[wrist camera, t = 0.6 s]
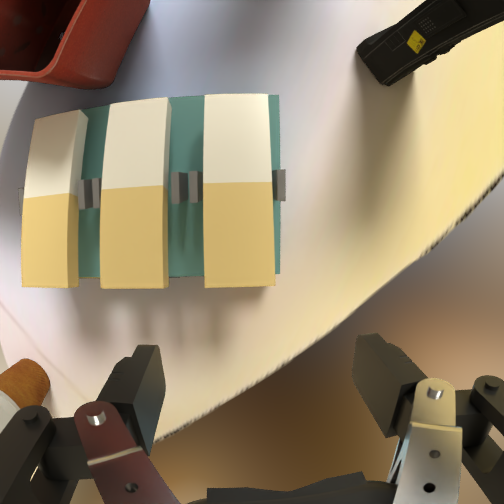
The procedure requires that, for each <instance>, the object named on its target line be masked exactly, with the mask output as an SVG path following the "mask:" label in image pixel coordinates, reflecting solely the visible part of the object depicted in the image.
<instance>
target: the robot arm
mask: <svg viewBox="0 0 504 504" xmlns="http://www.w3.org/2000/svg"><path fill="white" fill-rule="evenodd" d="M352 377H353V382H354V384H355V386H356V388H357V389H358V391H359V393H360V395H361V396H362V398H363V400H364V401H365V403H366V405H367V406H368V408H369V410H370V412H371V413H372V415H373V417H374V419H375V420H376V422H377V424H378V425H379V427H380V429H381V431H382V432H383V434H384V436H385V438H388V437H392V436H396V435H398V436H399V441H398V444H397V447H396V451H395V454H394V458H393V462H392V466H391V469H390V472H389V475H388V479H387V482H382V481H366V480H365V477H364V475H363V473H362V471H361V472H357V473H352V474H347V475H343V476H337V477H332V478H327V479H324V480H322V481H319V482H316V483H313V484H310V485H308V486H305V487H302V488H299V489H296V490H293V491H289V492H284V491H272V490H263V489H255V488H246V487H245V488H207V498H206V499H200V500H197V501H193V502H190V503H188V504H458V496H459V486H460V474H461V462H462V463H463V465H464V466H465V467H466V469H467V470H468V471H469V473H470V474H471V475H472V477H473V478H474V480H475V481H476V482H477V484H478V485H479V487H480V488H481V489H482V491H483V492H484V494H485V495H486V496H487V498H488V499H489V501H490V502H491V503H492V504H504V451H502V449H501V448H500V447H499V446H498V445H497V444H496V443H495V442H494V440H493V439H492V438H491V437H490V436H489V435H488V434H489V432H490V430H491V428H492V426H493V425H494V426H495V427H496V428H497V429H498V430H499V431H500V432H501V434H502V435H503V436H504V381H503V380H502V379H500V378H498V377H495V376H489V375H486V376H481V377H479V378H477V379H476V380H475V383H474V385H473V388H472V389H471V390H457V391H456V390H455V389H454V387H453V386H452V385H451V384H450V383H448V382H447V381H445V380H441V379H437V378H428V377H427V376H426V375H425V374H424V373H423V372H422V371H421V370H420V369H419V368H418V367H417V366H416V364H415V363H413V362H412V360H411V359H410V358H409V357H407V355H406V354H405V353H404V352H403V351H402V350H401V349H400V348H398V347H397V346H395V345H393V344H391V343H386V342H385V340H384V339H383V338H382V337H381V336H380V335H379V334H378V333H370V334H362V335H358V337H357V339H356V346H355V353H354V361H353V367H352ZM165 389H166V386H165V377H164V372H163V366H162V360H161V354H160V349H159V346H158V345H138V346H137V348H136V350H135V351H134V353H133V355H132V357H125V358H123V359H122V360H121V361H119V362H118V363H117V364H116V365H115V367H114V369H113V370H112V374H110V376H109V378H108V380H107V381H106V383H105V385H104V387H103V389H102V390H101V392H100V394H99V396H98V398H97V400H96V401H93V402H89V403H86V404H84V405H82V406H81V407H79V408H78V409H77V410H76V412H75V414H74V417H68V418H53V419H52V417H51V415H50V413H49V411H48V410H47V409H46V408H45V407H43V406H39V405H31V406H26V407H24V408H22V409H20V410H18V411H17V412H16V413H15V414H14V416H13V417H12V418H11V420H10V421H9V422H8V424H7V425H6V426H5V428H4V429H3V430H2V432H1V433H0V504H69V503H70V501H71V498H72V496H73V493H74V491H75V488H76V486H77V483H78V481H79V479H94V481H95V483H96V486H97V488H98V490H99V492H100V495H101V496H102V499H103V501H104V503H105V504H180V502H179V501H178V500H177V499H176V497H175V496H174V494H173V493H172V491H171V490H170V489H169V487H168V486H167V485H166V483H165V482H164V480H163V479H162V477H161V476H160V475H159V473H158V471H157V470H156V469H155V467H154V465H153V464H152V463H151V461H150V459H149V458H148V456H150V452H151V448H152V444H153V440H154V436H155V432H156V428H157V424H158V420H159V416H160V412H161V408H162V404H163V401H164V397H165ZM37 466H38V468H37V470H36V472H35V474H34V476H33V478H32V480H31V482H30V479H31V476H32V474H33V473H34V471H35V469H36V467H37Z"/></svg>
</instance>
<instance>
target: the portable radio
mask: <svg viewBox="0 0 504 504" xmlns="http://www.w3.org/2000/svg"><path fill="white" fill-rule="evenodd" d="M502 21H504V0H426V1H424V2H423V3H422V4H421V5H419V6H418V7H417V8H415V9H414V10H413V11H412V12H410V13H409V14H408V15H407V16H405V17H404V18H403V19H402V20H401V21H399V22H398V23H397V24H395V25H393V26H391V27H389V28H387V29H385V30H383V31H380V32H378V33H376V34H374V35H372V36H371V37H369V38H367V39H365V40H364V41H363V42H362V43H361V44H359V45H358V46H357V47H356V48H357V51H358V53H359V55H360V57H361V58H362V60H363V61H364V63H365V64H366V65H367V67H368V68H369V69H370V71H371V72H372V73H373V75H374V76H375V77H376V79H377V80H378V81H379V83H380V84H382V85H383V84H385V85H387V86H390V85H392V84H393V83H395V82H397V81H398V80H400V79H402V78H403V77H405V76H406V75H408V74H410V73H411V72H413V71H414V70H416V69H417V68H419V67H420V66H422V65H423V64H424V65H427V64H429V63H431V62H432V61H434V60H436V58H437V55H439V54H440V55H442V54H446V53H447V52H449V51H450V49H452V48H453V47H455V45H456V44H458V43H460V42H461V41H462V40H464V39H466V38H468V37H470V36H472V35H474V34H476V33H478V32H480V31H482V30H484V29H486V28H488V27H491V26H493V25H495V24H497V23H499V22H502Z"/></svg>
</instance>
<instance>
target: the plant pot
mask: <svg viewBox="0 0 504 504" xmlns="http://www.w3.org/2000/svg"><path fill="white" fill-rule="evenodd" d="M149 4H150V0H0V80H21V81H31V82H39V83H46V84H53V85H59V86H66V87H72V88H78V89H89V90H92V89H102V88H106V87H108V86H110V85H111V84H112V82H113V81H114V78H115V76H116V73H117V71H118V68H119V66H120V64H121V62H122V60H123V57H124V55H125V53H126V51H127V48H128V46H129V44H130V42H131V40H132V38H133V36H134V33H135V31H136V29H137V27H138V25H139V23H140V21H141V20H142V18H143V16H144V14H145V12H146V10H147V8H148V6H149ZM63 31H65V33H64V36H63V38H62V40H60V39H59V38H58V37H59V34H60V33H61V32H63Z"/></svg>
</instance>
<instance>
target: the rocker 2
mask: <svg viewBox="0 0 504 504" xmlns="http://www.w3.org/2000/svg"><path fill="white" fill-rule="evenodd" d="M171 113H172V107H171V104H170V102H169V99H168V97H163V98H152V99H143V100H135V101H127V102H120V103H113V104H110V110H109V117H108V125H107V133H106V141H105V150H104V161H103V173H102V187H101V207H100V282H101V288H105V289H154V288H166V287H169V274H168V173H169V147H170V129H171Z"/></svg>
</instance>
